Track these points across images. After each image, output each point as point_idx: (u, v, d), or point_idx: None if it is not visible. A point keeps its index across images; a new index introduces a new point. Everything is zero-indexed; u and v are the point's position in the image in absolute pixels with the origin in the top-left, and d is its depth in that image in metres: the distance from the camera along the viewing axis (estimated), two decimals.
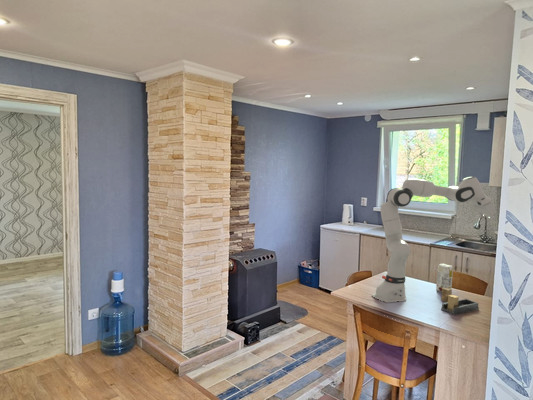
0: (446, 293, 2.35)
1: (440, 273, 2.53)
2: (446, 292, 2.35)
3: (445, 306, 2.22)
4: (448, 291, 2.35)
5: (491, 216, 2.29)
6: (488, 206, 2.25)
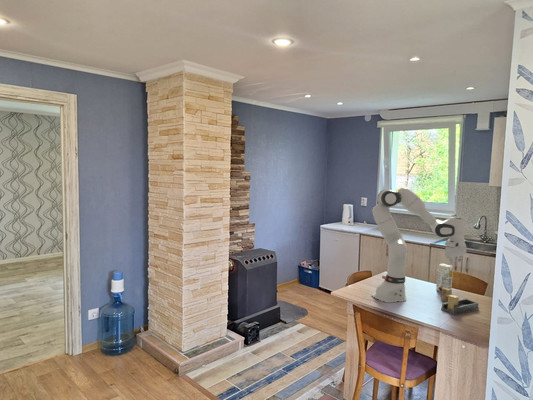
0: (446, 293, 2.35)
1: (440, 273, 2.53)
2: (446, 292, 2.35)
3: (445, 306, 2.22)
4: (448, 291, 2.35)
5: (451, 260, 2.32)
6: (447, 249, 2.30)
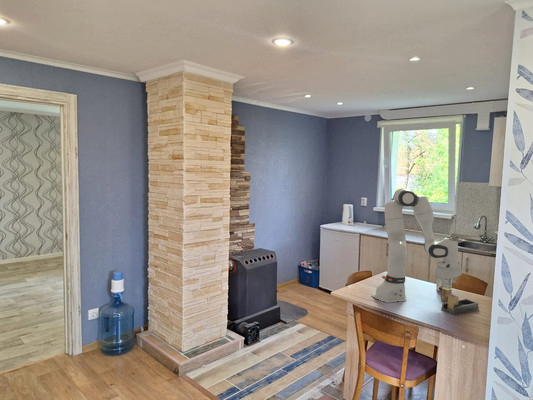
0: (446, 293, 2.35)
1: None
2: (446, 292, 2.35)
3: (445, 306, 2.22)
4: (448, 291, 2.35)
5: (442, 281, 2.33)
6: (438, 270, 2.32)
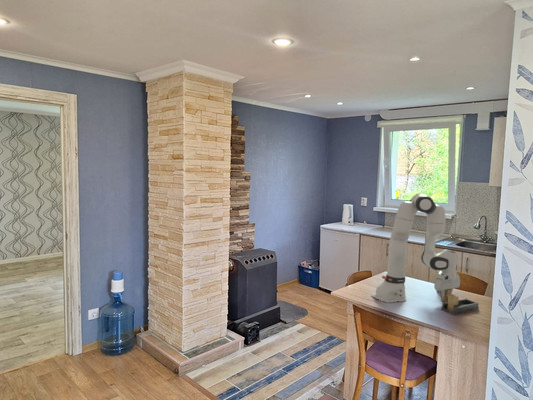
0: (446, 293, 2.35)
1: None
2: (446, 292, 2.35)
3: (445, 306, 2.22)
4: (448, 291, 2.35)
5: (442, 292, 2.35)
6: (436, 281, 2.32)
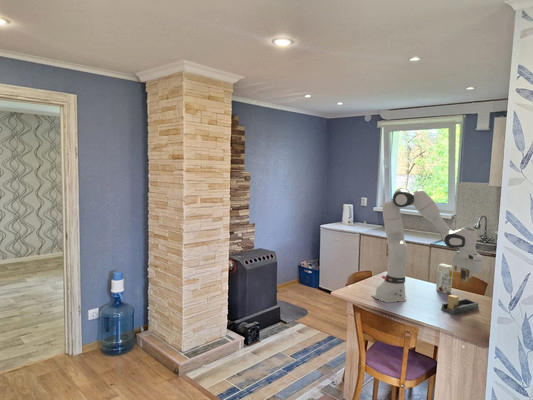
0: None
1: (440, 273, 2.53)
2: None
3: (445, 306, 2.22)
4: None
5: (471, 273, 2.21)
6: (479, 263, 2.15)
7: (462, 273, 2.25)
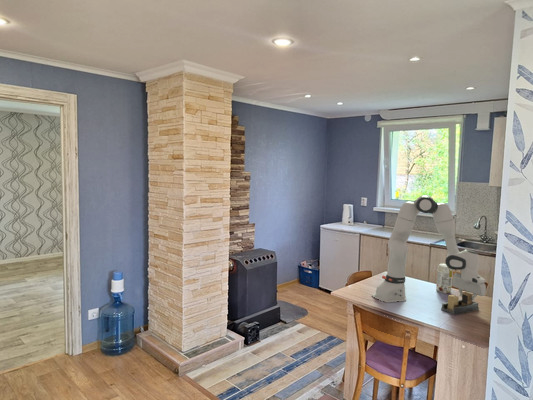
0: None
1: (440, 273, 2.53)
2: None
3: (445, 306, 2.22)
4: None
5: (475, 296, 2.21)
6: (483, 287, 2.15)
7: (464, 298, 2.24)
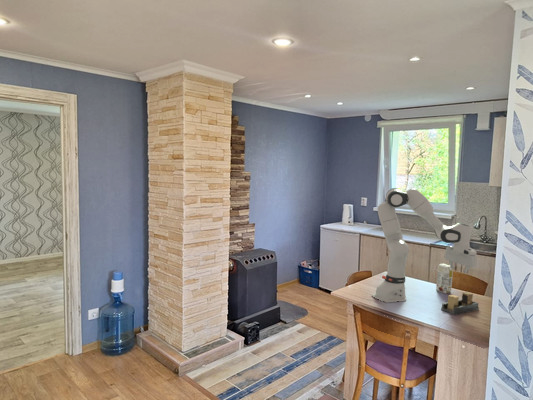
0: (471, 297, 2.24)
1: (440, 273, 2.53)
2: (471, 297, 2.24)
3: (445, 306, 2.22)
4: None
5: (467, 269, 2.25)
6: (473, 258, 2.21)
7: (464, 298, 2.24)
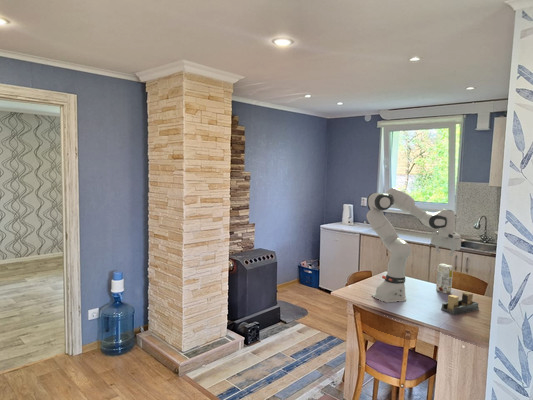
0: (471, 297, 2.24)
1: (440, 273, 2.53)
2: (471, 297, 2.24)
3: (445, 306, 2.22)
4: None
5: (452, 252, 2.37)
6: (458, 241, 2.33)
7: (464, 298, 2.24)
